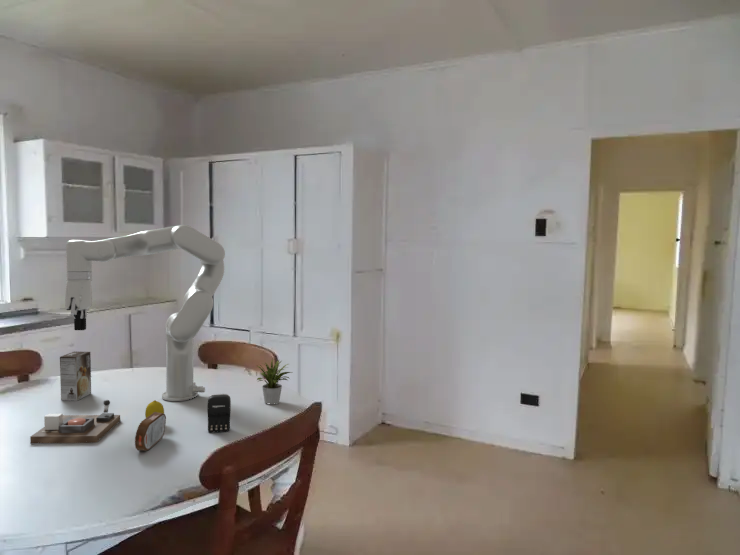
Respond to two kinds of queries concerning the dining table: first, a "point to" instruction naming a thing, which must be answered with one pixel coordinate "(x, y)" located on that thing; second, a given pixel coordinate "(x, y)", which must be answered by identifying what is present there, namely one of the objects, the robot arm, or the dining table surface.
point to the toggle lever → (106, 406)
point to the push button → (77, 421)
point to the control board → (78, 430)
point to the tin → (150, 431)
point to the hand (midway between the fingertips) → (80, 329)
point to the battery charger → (219, 412)
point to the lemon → (154, 408)
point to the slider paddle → (53, 421)
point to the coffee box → (75, 375)
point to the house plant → (272, 382)
